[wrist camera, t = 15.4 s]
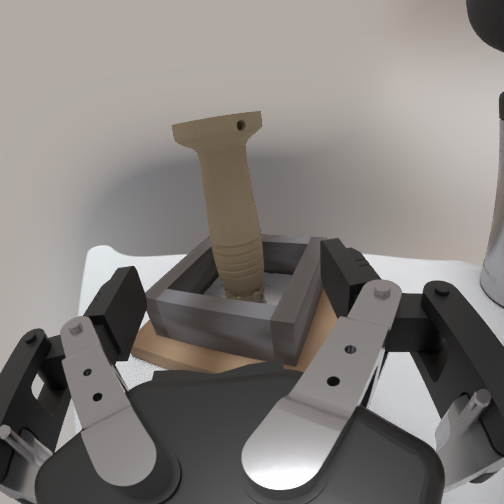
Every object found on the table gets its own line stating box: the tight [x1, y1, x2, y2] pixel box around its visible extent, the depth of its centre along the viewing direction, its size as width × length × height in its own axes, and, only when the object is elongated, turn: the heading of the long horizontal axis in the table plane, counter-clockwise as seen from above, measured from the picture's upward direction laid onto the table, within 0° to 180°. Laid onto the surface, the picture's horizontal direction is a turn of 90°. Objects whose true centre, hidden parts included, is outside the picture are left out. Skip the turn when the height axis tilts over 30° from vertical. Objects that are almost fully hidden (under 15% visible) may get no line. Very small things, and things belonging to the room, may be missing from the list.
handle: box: [172, 111, 264, 303], centre depth 22 cm, size 5×6×15 cm
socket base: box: [131, 235, 338, 374], centre depth 26 cm, size 16×16×6 cm
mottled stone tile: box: [203, 272, 292, 305], centre depth 26 cm, size 8×8×1 cm
